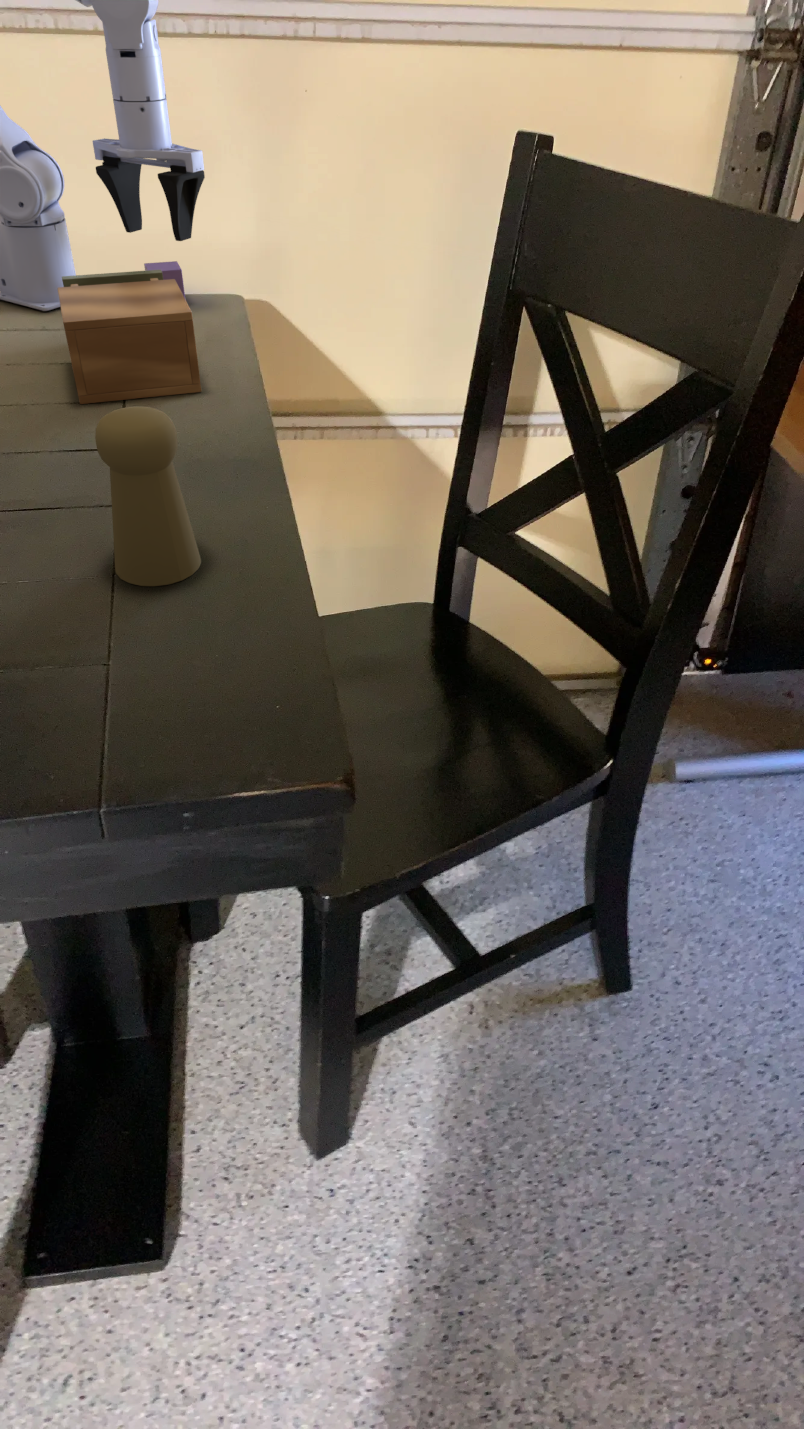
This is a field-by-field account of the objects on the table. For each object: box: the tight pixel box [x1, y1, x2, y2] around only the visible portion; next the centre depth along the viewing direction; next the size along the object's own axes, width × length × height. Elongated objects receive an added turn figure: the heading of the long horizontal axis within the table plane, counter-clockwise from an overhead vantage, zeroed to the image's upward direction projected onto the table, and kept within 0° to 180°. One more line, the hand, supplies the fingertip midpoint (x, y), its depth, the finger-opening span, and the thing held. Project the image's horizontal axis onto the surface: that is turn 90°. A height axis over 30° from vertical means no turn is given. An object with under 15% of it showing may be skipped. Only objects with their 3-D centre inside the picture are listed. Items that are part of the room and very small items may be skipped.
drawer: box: [62, 270, 163, 287], centre depth 102 cm, size 15×10×6 cm
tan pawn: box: [94, 405, 202, 587], centre depth 64 cm, size 6×6×11 cm
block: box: [143, 260, 186, 299], centre depth 116 cm, size 4×4×4 cm
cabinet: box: [57, 279, 202, 405], centre depth 94 cm, size 12×12×8 cm
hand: (158, 234), depth 112 cm, fingers open, 7 cm apart
